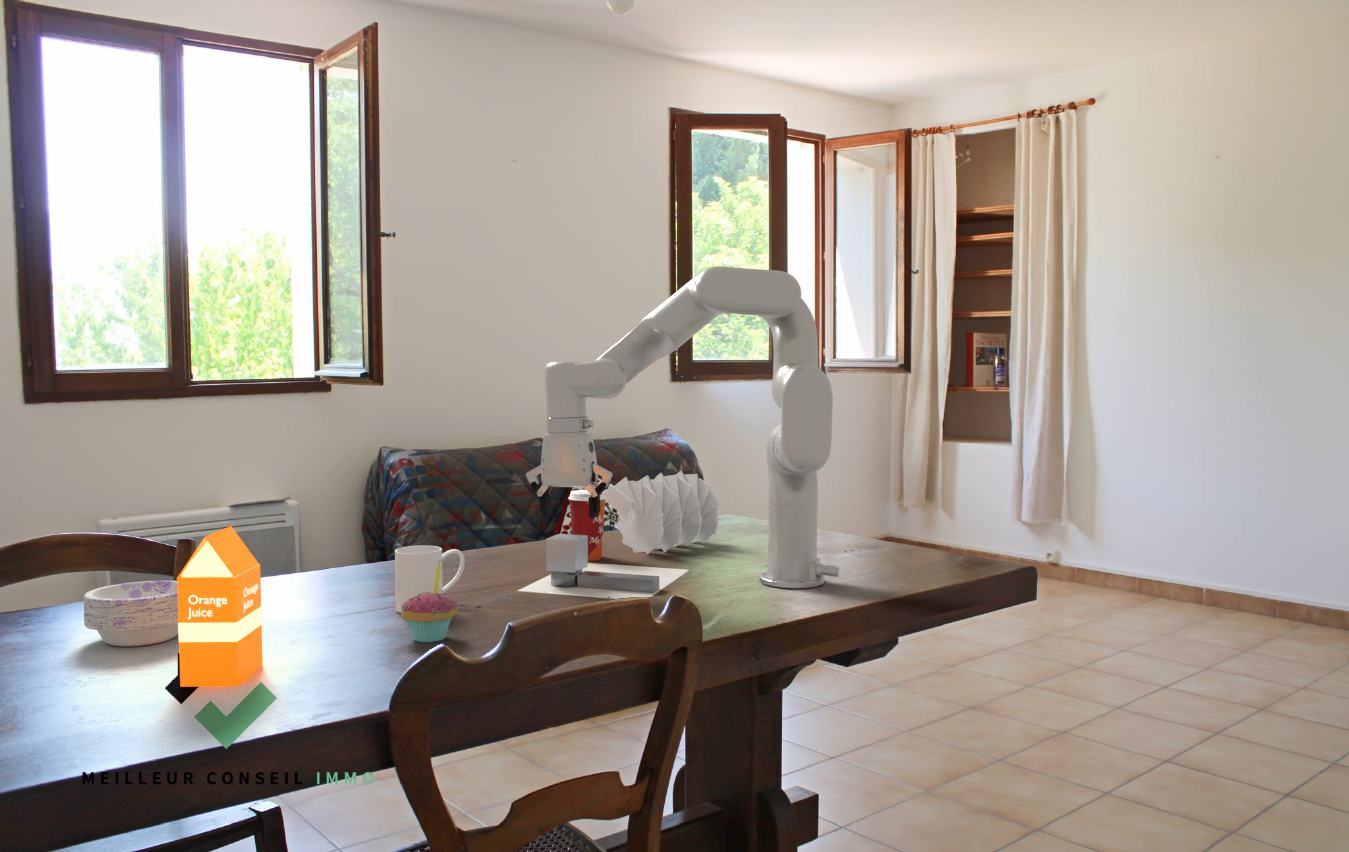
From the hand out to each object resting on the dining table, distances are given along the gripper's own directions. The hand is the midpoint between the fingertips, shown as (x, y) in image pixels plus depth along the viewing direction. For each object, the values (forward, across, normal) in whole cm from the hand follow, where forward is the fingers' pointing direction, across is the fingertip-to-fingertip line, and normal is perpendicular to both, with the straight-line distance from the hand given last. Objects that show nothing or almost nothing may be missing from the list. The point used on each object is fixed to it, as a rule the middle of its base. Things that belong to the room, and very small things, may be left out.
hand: (570, 516), depth 190 cm
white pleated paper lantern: (+15, -5, -42) cm, 45 cm away
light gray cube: (+10, +1, 0) cm, 10 cm away
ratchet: (+13, -6, +1) cm, 15 cm away
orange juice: (+12, +24, +64) cm, 70 cm away
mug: (+13, +17, +22) cm, 31 cm away
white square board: (+14, -5, -6) cm, 16 cm away
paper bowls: (+12, +49, +54) cm, 74 cm away
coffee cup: (+14, +7, -24) cm, 29 cm away
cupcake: (+13, +7, +40) cm, 42 cm away
